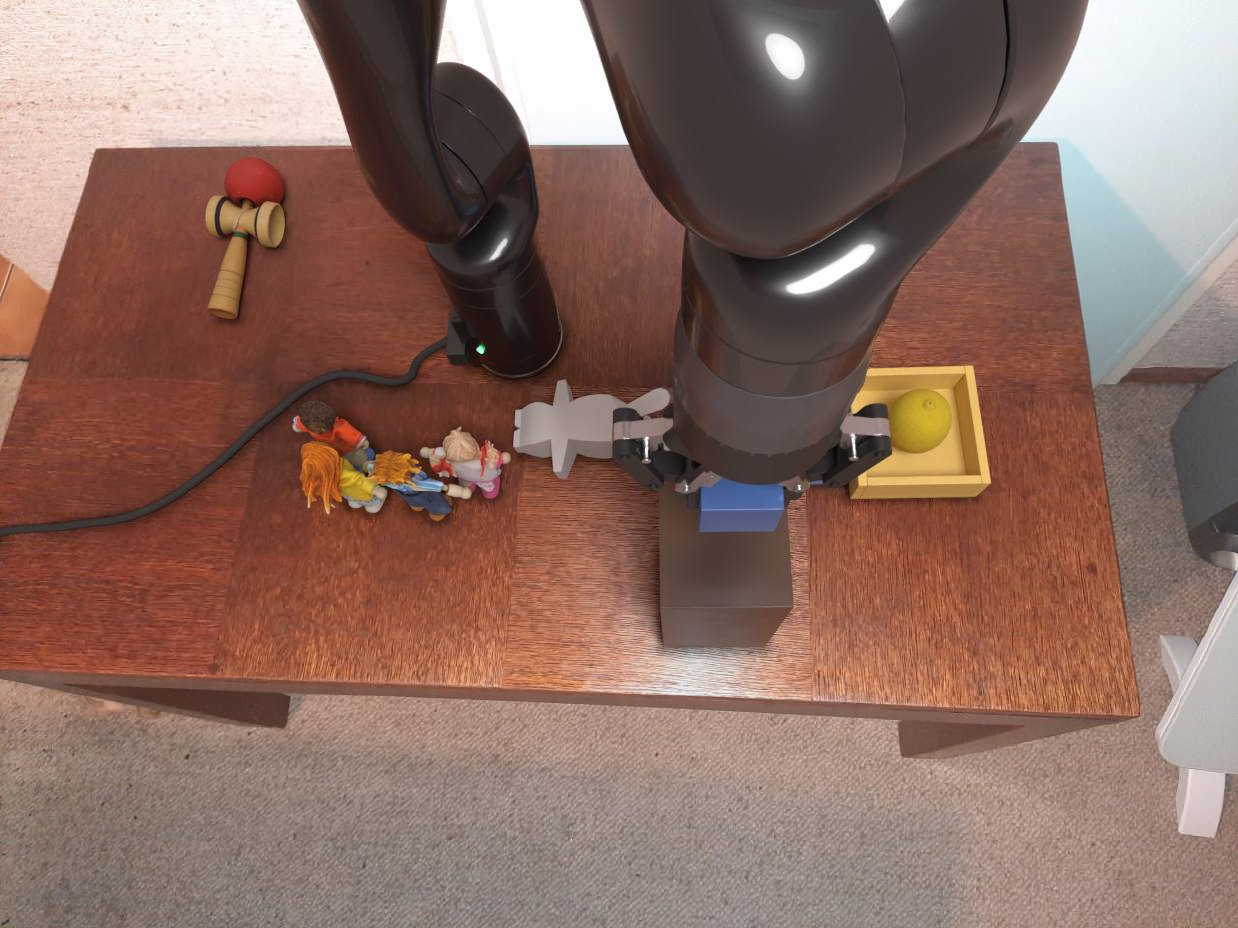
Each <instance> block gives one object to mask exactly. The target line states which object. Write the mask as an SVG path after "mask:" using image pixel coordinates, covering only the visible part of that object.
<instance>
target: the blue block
mask: <svg viewBox="0 0 1238 928" xmlns="http://www.w3.org/2000/svg"><path fill="white" fill-rule="evenodd" d="M783 511H784V494H783V486H782V487H780V486H779V484H778V483H775V484H768V485H750V484H743V483H738V482H734V481H731V480H728V479H725V478H721V479H720V480H719V481H718V482H717V483H715V484H714V485H713V486H712V487H700V499H699V508H698V531H699V532H750V531H775V529H776V527H777V525H778V523H779V520H780V518H781V516H782V513H783Z"/></svg>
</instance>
